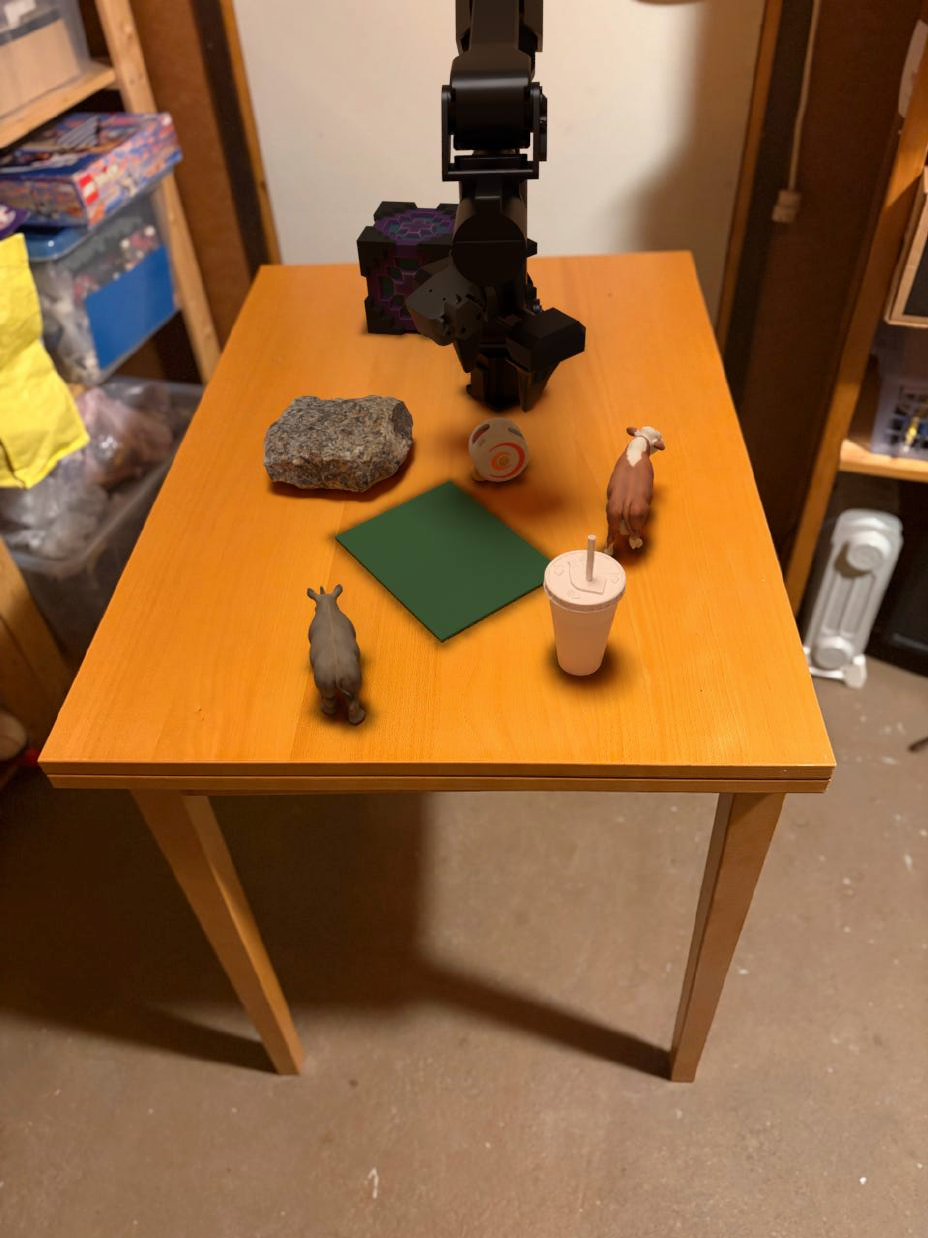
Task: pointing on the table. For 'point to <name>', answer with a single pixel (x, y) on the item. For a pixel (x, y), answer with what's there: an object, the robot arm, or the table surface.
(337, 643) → the rhino figurine
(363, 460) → the rock
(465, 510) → the cloth
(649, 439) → the bull figurine
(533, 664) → the table surface
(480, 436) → the roller toy
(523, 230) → the robot arm
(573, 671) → the smoothie
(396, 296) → the energy cube
